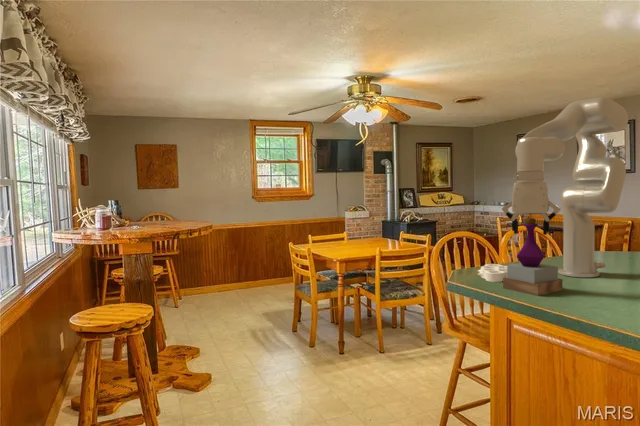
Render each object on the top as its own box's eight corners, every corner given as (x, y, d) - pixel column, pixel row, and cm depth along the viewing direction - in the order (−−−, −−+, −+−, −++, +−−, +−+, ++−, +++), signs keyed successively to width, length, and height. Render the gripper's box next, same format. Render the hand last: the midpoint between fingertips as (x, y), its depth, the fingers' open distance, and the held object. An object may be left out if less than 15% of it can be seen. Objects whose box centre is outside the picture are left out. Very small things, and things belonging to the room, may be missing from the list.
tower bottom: (527, 284, 145) (527, 273, 145) (562, 292, 134) (562, 279, 134) (503, 290, 139) (503, 277, 139) (538, 297, 129) (538, 284, 128)
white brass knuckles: (523, 284, 145) (477, 282, 150) (518, 273, 162) (476, 272, 167) (523, 274, 145) (477, 272, 150) (518, 264, 162) (476, 263, 167)
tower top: (530, 274, 143) (530, 261, 143) (557, 279, 134) (557, 266, 134) (507, 277, 139) (507, 265, 139) (534, 283, 130) (534, 270, 130)
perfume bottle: (543, 268, 132) (543, 208, 131) (516, 266, 135) (516, 208, 134) (544, 264, 138) (544, 207, 137) (518, 262, 142) (518, 207, 141)
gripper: (498, 178, 137) (498, 234, 138) (561, 176, 128) (561, 236, 129) (502, 178, 143) (502, 231, 145) (563, 176, 134) (562, 233, 135)
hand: (530, 233), depth 137 cm, fingers open, 7 cm apart
